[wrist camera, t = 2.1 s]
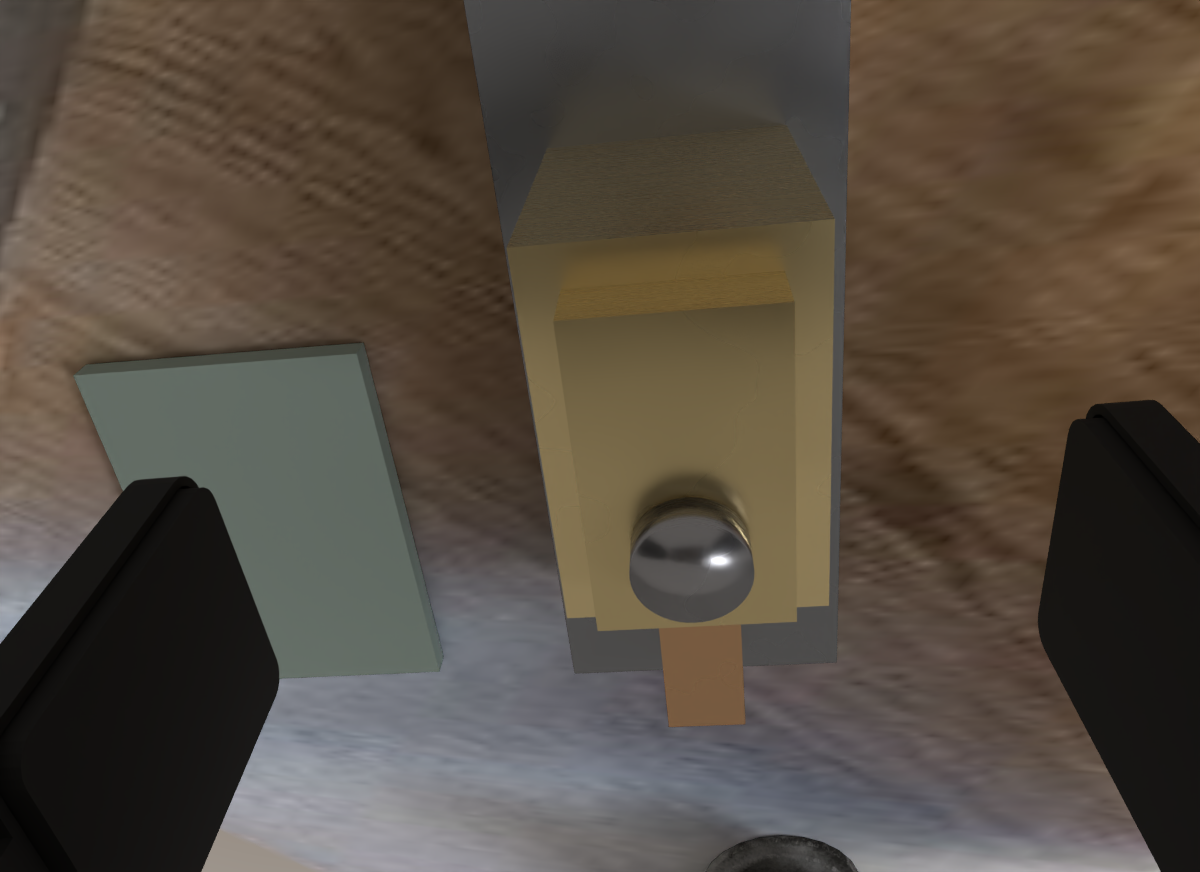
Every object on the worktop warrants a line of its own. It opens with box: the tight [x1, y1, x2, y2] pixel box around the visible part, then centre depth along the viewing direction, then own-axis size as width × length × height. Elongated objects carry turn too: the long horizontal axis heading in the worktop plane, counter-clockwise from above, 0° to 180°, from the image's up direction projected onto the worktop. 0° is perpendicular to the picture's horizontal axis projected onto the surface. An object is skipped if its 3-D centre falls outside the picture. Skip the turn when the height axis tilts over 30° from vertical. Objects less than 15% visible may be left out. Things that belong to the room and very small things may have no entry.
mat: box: [73, 343, 444, 679], centre depth 25 cm, size 7×10×1 cm
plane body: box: [464, 0, 851, 727], centre depth 18 cm, size 6×18×6 cm, turn 6°
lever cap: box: [507, 125, 835, 631], centre depth 15 cm, size 4×6×7 cm, turn 6°
